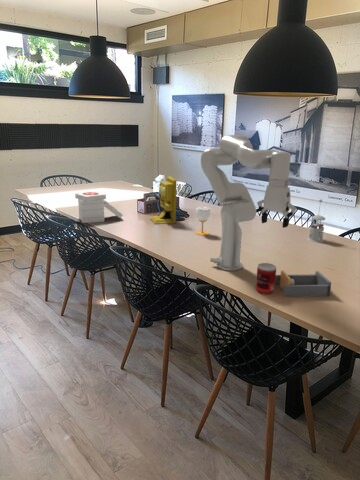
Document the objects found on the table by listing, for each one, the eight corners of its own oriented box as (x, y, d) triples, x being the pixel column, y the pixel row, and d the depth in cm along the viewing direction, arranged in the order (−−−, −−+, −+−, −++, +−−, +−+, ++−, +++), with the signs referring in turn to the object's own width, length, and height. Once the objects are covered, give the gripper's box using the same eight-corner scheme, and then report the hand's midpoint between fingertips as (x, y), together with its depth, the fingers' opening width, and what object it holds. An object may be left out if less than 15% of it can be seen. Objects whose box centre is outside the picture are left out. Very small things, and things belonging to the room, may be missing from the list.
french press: (305, 240, 236) (310, 199, 229) (309, 236, 246) (314, 196, 239) (322, 243, 232) (328, 201, 225) (325, 238, 242) (331, 198, 235)
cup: (204, 236, 240) (205, 210, 235) (192, 233, 245) (193, 208, 240) (212, 233, 247) (213, 208, 242) (200, 230, 252) (201, 206, 247)
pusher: (286, 294, 162) (288, 278, 159) (279, 285, 170) (281, 270, 168) (296, 294, 162) (298, 278, 160) (288, 285, 171) (290, 270, 169)
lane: (283, 296, 160) (285, 283, 158) (273, 284, 172) (275, 271, 170) (329, 295, 162) (331, 282, 160) (316, 283, 173) (318, 271, 172)
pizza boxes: (123, 220, 271) (123, 195, 266) (79, 223, 260) (78, 197, 255) (117, 214, 288) (116, 190, 283) (75, 217, 277) (74, 192, 272)
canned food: (271, 286, 169) (273, 262, 166) (276, 294, 162) (278, 269, 158) (253, 286, 169) (255, 262, 166) (257, 294, 161) (260, 269, 158)
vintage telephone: (147, 215, 287) (147, 174, 278) (165, 214, 291) (165, 174, 282) (157, 226, 258) (158, 181, 249) (177, 225, 262) (178, 181, 253)
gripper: (302, 185, 153) (298, 227, 158) (264, 180, 164) (261, 219, 169) (293, 187, 148) (289, 230, 153) (254, 181, 159) (251, 222, 164)
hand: (274, 224), depth 161 cm, fingers open, 9 cm apart
